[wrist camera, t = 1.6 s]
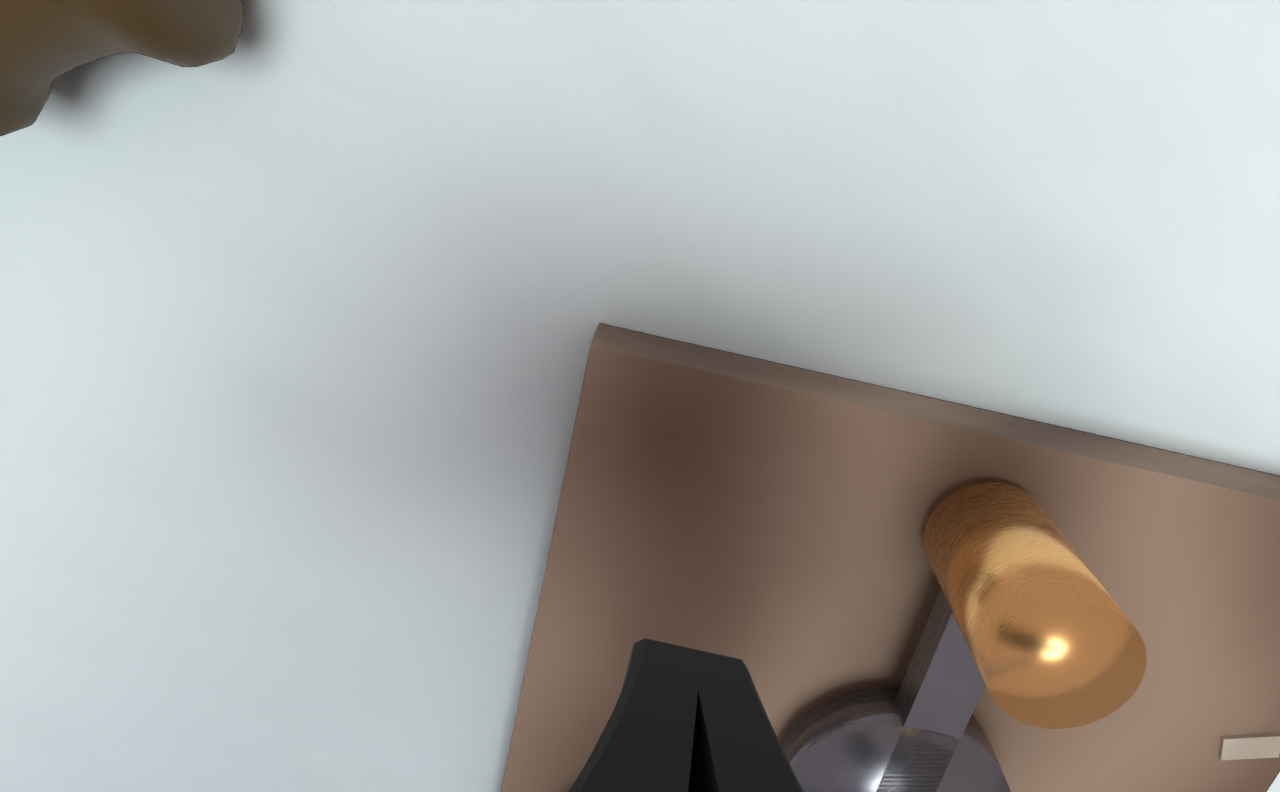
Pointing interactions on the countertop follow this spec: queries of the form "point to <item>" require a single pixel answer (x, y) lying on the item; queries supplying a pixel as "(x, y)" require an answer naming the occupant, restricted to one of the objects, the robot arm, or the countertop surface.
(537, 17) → the countertop surface
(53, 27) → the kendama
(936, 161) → the countertop surface
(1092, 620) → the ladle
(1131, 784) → the base
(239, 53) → the countertop surface
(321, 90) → the countertop surface
